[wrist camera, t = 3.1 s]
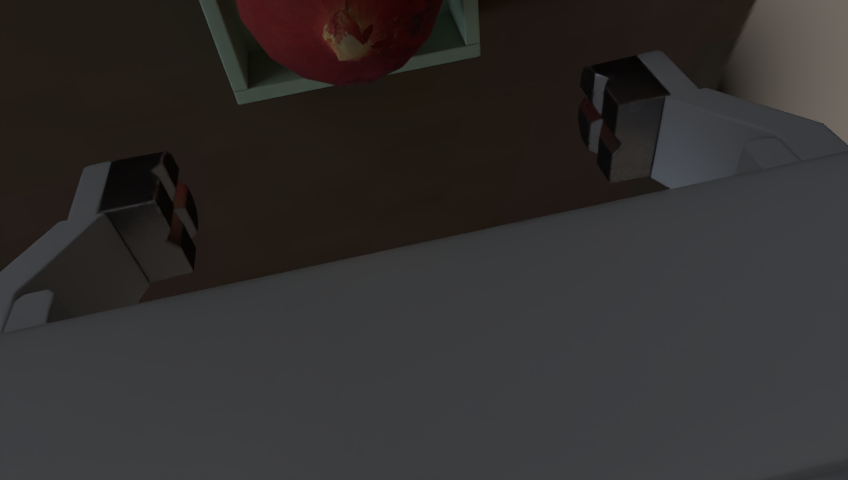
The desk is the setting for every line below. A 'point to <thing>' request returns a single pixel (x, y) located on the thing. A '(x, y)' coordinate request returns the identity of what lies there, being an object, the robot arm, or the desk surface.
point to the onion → (340, 35)
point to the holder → (270, 79)
